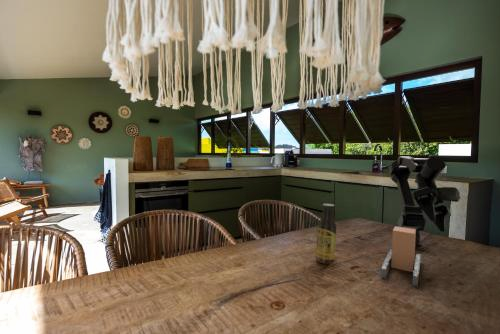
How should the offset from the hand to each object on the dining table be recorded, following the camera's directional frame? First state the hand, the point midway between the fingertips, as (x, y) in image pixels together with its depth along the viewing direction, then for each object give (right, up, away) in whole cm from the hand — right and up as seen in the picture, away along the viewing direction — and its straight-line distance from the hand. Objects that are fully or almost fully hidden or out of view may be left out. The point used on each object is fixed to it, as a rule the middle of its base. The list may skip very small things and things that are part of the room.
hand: (438, 226), depth 91 cm
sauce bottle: (-36, -13, +4) cm, 39 cm away
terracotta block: (-13, -12, -2) cm, 18 cm away
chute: (-15, -14, -5) cm, 21 cm away
